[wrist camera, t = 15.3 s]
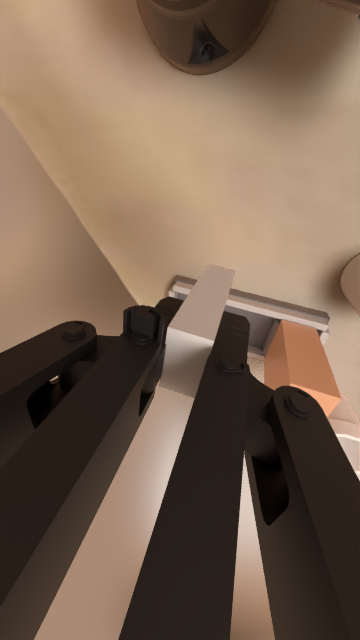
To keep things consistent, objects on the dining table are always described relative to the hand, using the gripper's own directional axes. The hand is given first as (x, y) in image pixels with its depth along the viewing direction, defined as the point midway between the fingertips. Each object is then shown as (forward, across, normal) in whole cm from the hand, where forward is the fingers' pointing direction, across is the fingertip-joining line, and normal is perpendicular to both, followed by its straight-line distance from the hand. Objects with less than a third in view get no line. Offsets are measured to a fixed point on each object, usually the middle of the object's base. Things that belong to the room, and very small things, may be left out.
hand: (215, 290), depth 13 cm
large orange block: (+24, +12, -16) cm, 31 cm away
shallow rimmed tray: (+26, +4, -16) cm, 31 cm away
